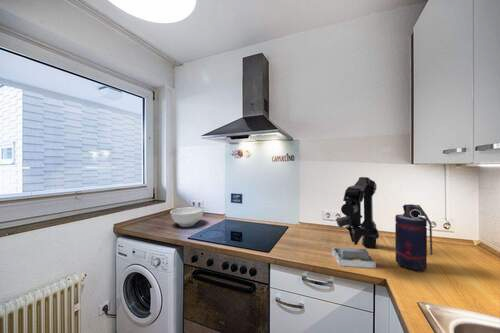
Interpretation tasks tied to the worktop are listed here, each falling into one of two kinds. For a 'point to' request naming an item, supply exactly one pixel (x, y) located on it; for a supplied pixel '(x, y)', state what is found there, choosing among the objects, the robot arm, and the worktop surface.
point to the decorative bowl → (187, 215)
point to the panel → (354, 254)
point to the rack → (354, 262)
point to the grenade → (412, 238)
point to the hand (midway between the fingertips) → (354, 243)
